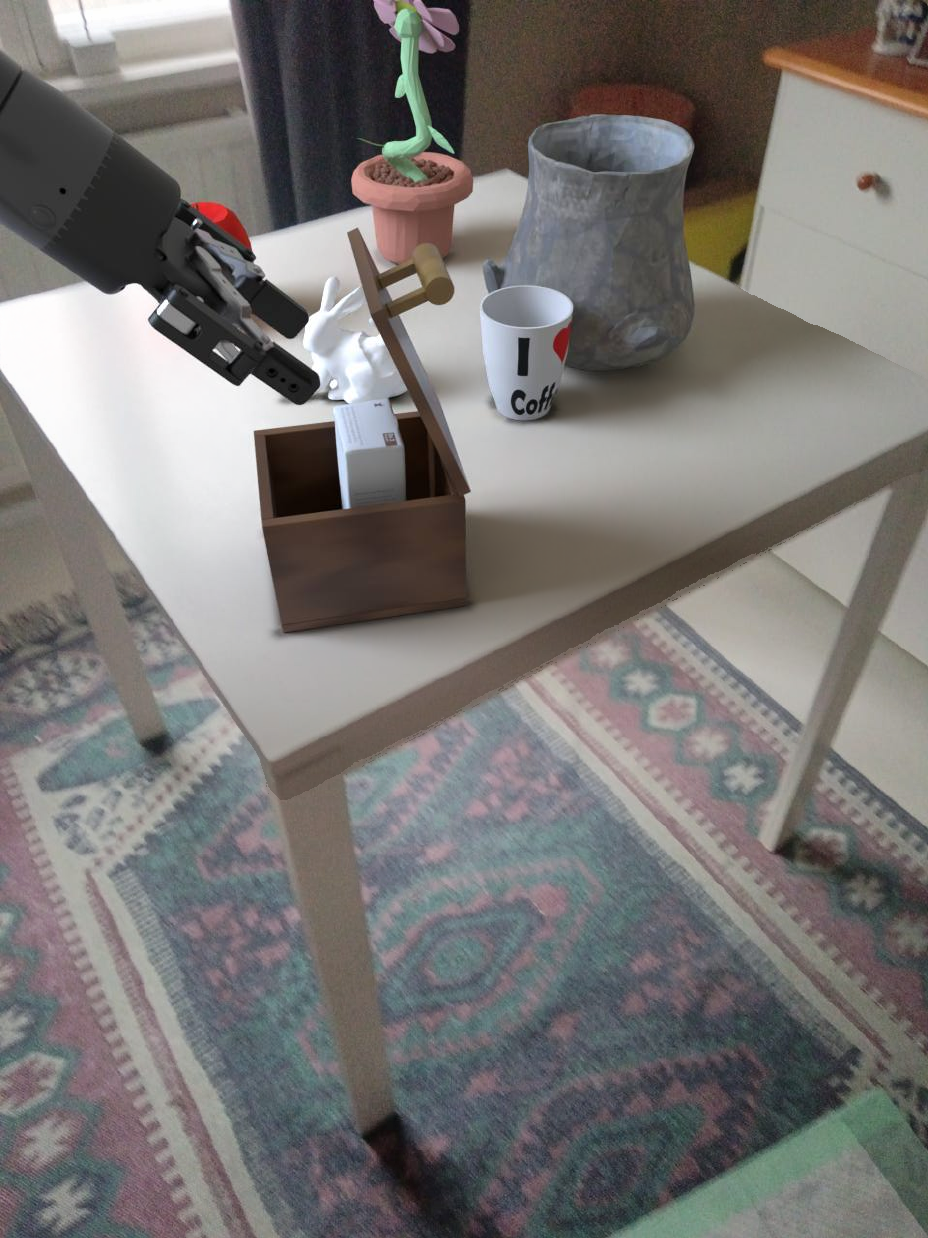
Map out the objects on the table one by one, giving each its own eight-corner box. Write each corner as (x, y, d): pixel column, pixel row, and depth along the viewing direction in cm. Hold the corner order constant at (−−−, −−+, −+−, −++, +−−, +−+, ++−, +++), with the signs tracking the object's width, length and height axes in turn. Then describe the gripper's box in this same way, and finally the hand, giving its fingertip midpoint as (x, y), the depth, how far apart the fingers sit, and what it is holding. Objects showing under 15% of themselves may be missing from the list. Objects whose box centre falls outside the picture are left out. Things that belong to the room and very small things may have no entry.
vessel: (538, 423, 90) (549, 203, 76) (461, 316, 105) (458, 116, 91) (747, 381, 95) (792, 167, 81) (644, 285, 110) (668, 90, 96)
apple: (231, 348, 101) (208, 230, 92) (150, 331, 103) (121, 215, 95) (279, 305, 107) (262, 192, 99) (202, 291, 110) (179, 179, 102)
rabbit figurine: (284, 400, 93) (269, 305, 87) (308, 361, 99) (295, 268, 92) (406, 412, 92) (401, 315, 85) (424, 371, 97) (420, 277, 90)
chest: (282, 633, 71) (261, 526, 64) (272, 533, 79) (253, 430, 72) (467, 605, 73) (465, 499, 66) (438, 511, 81) (435, 408, 74)
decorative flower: (504, 252, 116) (510, -48, 96) (425, 293, 109) (412, -23, 88) (413, 220, 124) (400, -67, 103) (333, 256, 116) (301, -45, 95)
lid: (370, 314, 55) (450, 276, 55) (346, 232, 64) (416, 198, 63) (460, 496, 66) (529, 466, 65) (430, 405, 74) (491, 378, 73)
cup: (506, 438, 88) (508, 336, 81) (465, 396, 94) (463, 297, 87) (582, 415, 91) (591, 314, 84) (538, 375, 96) (542, 277, 89)
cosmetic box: (343, 536, 77) (326, 403, 69) (398, 528, 78) (389, 394, 70) (354, 587, 73) (338, 451, 65) (413, 578, 74) (405, 442, 65)
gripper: (98, 178, 46) (358, 372, 56) (115, 90, 56) (332, 267, 66) (16, 295, 49) (276, 460, 59) (47, 192, 59) (264, 347, 69)
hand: (306, 358), depth 62 cm, fingers open, 8 cm apart
